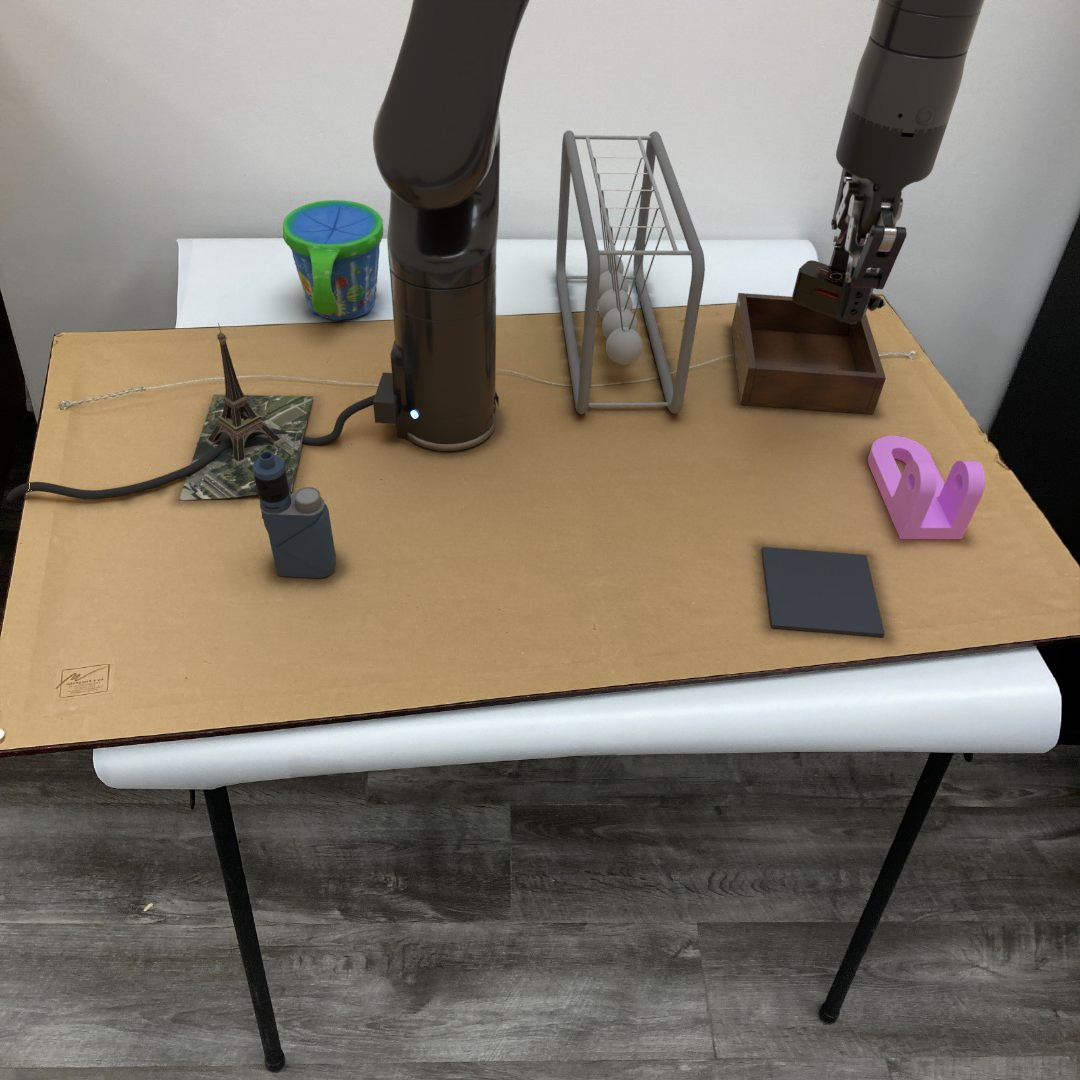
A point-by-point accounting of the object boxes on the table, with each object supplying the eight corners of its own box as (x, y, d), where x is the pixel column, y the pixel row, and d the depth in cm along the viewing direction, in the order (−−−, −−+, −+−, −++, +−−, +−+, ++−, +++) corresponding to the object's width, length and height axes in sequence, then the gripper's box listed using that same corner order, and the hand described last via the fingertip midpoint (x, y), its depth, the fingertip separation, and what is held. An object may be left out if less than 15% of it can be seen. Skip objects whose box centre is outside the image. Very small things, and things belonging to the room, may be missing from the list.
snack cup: (369, 348, 105) (360, 262, 98) (274, 337, 106) (258, 250, 99) (404, 276, 116) (399, 194, 109) (318, 267, 117) (307, 184, 110)
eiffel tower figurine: (294, 499, 87) (271, 375, 78) (179, 500, 87) (141, 375, 78) (313, 399, 98) (295, 279, 89) (211, 399, 98) (181, 278, 88)
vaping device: (277, 555, 82) (253, 443, 74) (339, 558, 82) (322, 447, 74) (270, 577, 81) (245, 465, 72) (334, 580, 81) (316, 469, 72)
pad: (771, 628, 79) (772, 624, 78) (761, 549, 85) (762, 546, 85) (883, 637, 78) (884, 633, 78) (865, 557, 85) (866, 554, 85)
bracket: (961, 539, 87) (989, 480, 82) (900, 539, 87) (924, 479, 82) (916, 447, 96) (939, 389, 91) (861, 446, 96) (881, 388, 91)
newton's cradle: (555, 271, 118) (562, 123, 106) (640, 271, 119) (658, 124, 107) (576, 423, 97) (589, 259, 85) (681, 422, 98) (708, 260, 85)
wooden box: (740, 404, 100) (748, 367, 97) (731, 327, 111) (738, 292, 108) (873, 414, 100) (886, 377, 97) (851, 336, 110) (862, 301, 107)
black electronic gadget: (862, 332, 85) (873, 298, 82) (788, 303, 87) (796, 270, 85) (883, 310, 87) (894, 277, 85) (810, 283, 90) (819, 250, 88)
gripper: (835, 69, 79) (788, 260, 91) (868, 140, 69) (811, 345, 81) (927, 75, 79) (869, 266, 91) (974, 147, 69) (901, 351, 81)
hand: (842, 302), depth 86 cm, fingers closed on black electronic gadget, 5 cm apart
